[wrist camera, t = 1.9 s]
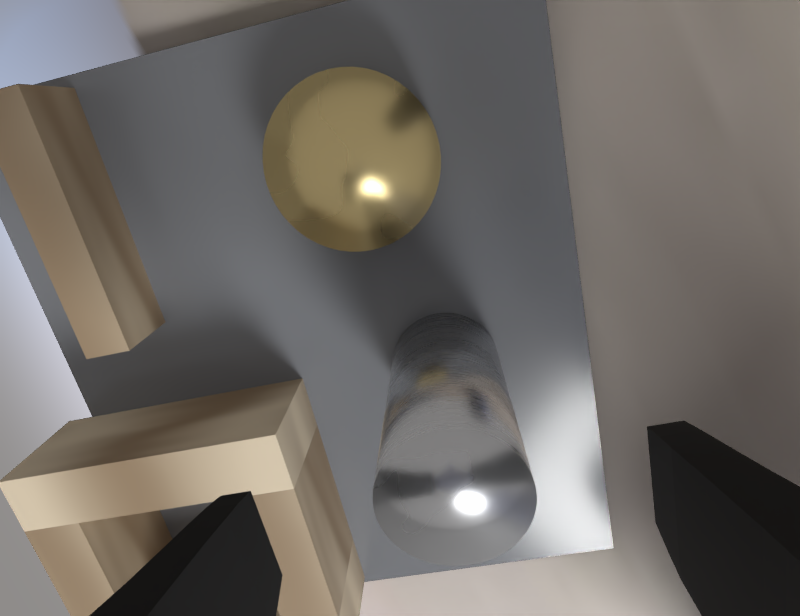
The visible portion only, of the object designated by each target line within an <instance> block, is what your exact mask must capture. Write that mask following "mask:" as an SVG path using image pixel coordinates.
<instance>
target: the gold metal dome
mask: <svg viewBox="0 0 800 616" xmlns="http://www.w3.org/2000/svg"><path fill="white" fill-rule="evenodd" d="M263 170H264V175H265V180H266V184H267V187H268V189H269V192H270V195H271V197H272V199H273V201H274V203H275V205H276V206H277V208H278V209H279V211H280V212H281V214H282V215H283V216H284V218H285V219H286V220H287V221H288V222H289V223H290V224H291V225H292V226H293V227H294V228H295V229H296V230H297V231H298V232H300V233H301V234H303V235H304V236H305V237H307V238H308V239H310V240H312V241H314V242H316V243H318V244H320V245H323V246H325V247H328V248H332V249H336V250H340V251H349V252H362V251H369V250H374V249H378V248H381V247H384V246H386V245H389V244H391V243H393V242H395V241H397V240H398V239H400V238H402V237H403V236H405V235H406V234H407V233H408V232H410V231H411V230H412V229H413V228H414V227H415V226H416V225H417V224H418V223H419V222H420V221H421V219H422V218H423V217H424V215H425V214H426V212H427V211H428V209H429V207H430V205H431V204H432V201H433V199H434V197H435V194H436V191H437V188H438V184H439V179H440V172H441V153H440V145H439V141H438V137H437V133H436V130H435V127H434V125H433V122H432V120H431V118H430V116H429V114H428V113H427V111H426V109H425V108H424V107H423V105H422V104H421V103H420V101H419V100H418V99H417V98H416V97H415V96H414V95H413V94H412V93H411V92H410V91H409V90H408V89H407V88H406V87H404V86H403V85H402V84H401V83H399V82H398V81H396V80H394V79H393V78H391V77H389V76H387V75H385V74H382V73H380V72H378V71H374V70H370V69H367V68H360V67H337V68H331V69H327V70H324V71H321V72H318V73H315V74H313V75H311V76H309V77H307V78H305V79H304V80H302V81H301V82H299V83H298V84H297V85H295V86H294V87H293V88H292V89H291V90H290V91H289V92H288V93H287V94H286V95H285V96H284V97H283V99H282V100H281V101H280V102H279V104H278V105H277V107H276V109H275V110H274V112H273V114H272V116H271V118H270V121H269V123H268V126H267V129H266V133H265V136H264V143H263Z"/></svg>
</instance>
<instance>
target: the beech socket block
mask: <svg viewBox="0 0 800 616" xmlns="http://www.w3.org/2000/svg"><path fill="white" fill-rule="evenodd" d="M0 488H1V490H2V492H3V493H4V495H5V497H6V499H7V501H8V502H9V504H10V506H11V508H12V510H13V512H14V513H15V515H16V517H17V519H18V521H19V522H20V524H21V526H22V528H23V530H24V532H25V533H26V535H27V537H28V539H29V541H30V542H31V544H32V546H33V548H34V550H35V552H36V553H37V555H38V557H39V559H40V561H41V562H42V564H43V566H44V568H45V570H46V572H47V573H48V575H49V577H50V579H51V581H52V582H53V584H54V586H55V588H56V590H57V592H58V593H59V595H60V597H61V599H62V601H63V602H64V604H65V606H66V608H67V610H68V612H69V613H70V615H71V616H89V615H90V614H92V613H93V612H94V611H95V610H96V609H97V608H98V607H99V606H101V605H102V604H103V603H104V602H105V601H106V600H107V599H108V598H110V597H111V596H112V595H113V594H114V593H115V592H116V591H117V590H119V589H120V588H121V587H122V586H123V585H124V584H125V583H126V582H128V581H129V580H130V579H131V578H132V577H133V576H134V575H135V574H136V573H137V572H138V571H139V570H140V569H141V568H142V567H143V566H145V565H146V564H147V563H148V562H149V561H150V560H151V559H152V558H153V557H154V556H155V555H156V554H157V553H158V552H159V551H160V550H161V549H163V548H164V547H165V546H166V545H167V544H168V543H169V542H170V541H171V540H172V537H171V535H170V532H169V530H168V528H167V526H166V523H165V521H164V519H163V517H162V514H161V512H160V510H164V509H170V508H177V507H183V506H189V505H196V504H202V503H208V502H213V501H215V500H216V499H217V498H218V497H220V496H222V495H228V494H235V493H241V492H247V491H251V493H252V496H253V498H254V501H255V503H256V506H257V509H258V511H259V514H260V517H261V519H262V522H263V525H264V527H265V530H266V533H267V535H268V538H269V541H270V543H271V546H272V549H273V551H274V554H275V557H276V559H277V562H278V564H279V567H280V570H281V572H282V575H283V576H282V582H281V589H280V595H279V601H278V608H277V613H276V616H359V614H360V607H361V600H362V593H363V586H364V579H365V576H364V573H363V570H362V567H361V564H360V560H359V557H358V554H357V551H356V548H355V544H354V541H353V538H352V535H351V532H350V528H349V525H348V522H347V519H346V516H345V512H344V509H343V506H342V503H341V500H340V496H339V493H338V490H337V487H336V484H335V480H334V477H333V474H332V471H331V468H330V464H329V461H328V458H327V455H326V452H325V449H324V445H323V442H322V439H321V436H320V433H319V429H318V426H317V423H316V420H315V417H314V413H313V410H312V407H311V404H310V401H309V397H308V394H307V391H306V388H305V385H304V381H303V378H302V379H296V380H291V381H285V382H280V383H275V384H269V385H264V386H258V387H253V388H247V389H242V390H237V391H231V392H226V393H220V394H215V395H209V396H204V397H199V398H193V399H188V400H182V401H177V402H171V403H166V404H160V405H155V406H150V407H144V408H139V409H133V410H128V411H122V412H117V413H112V414H106V415H101V416H95V417H90V418H84V419H80V420H74V421H69V422H68V423H67V424H65V425H64V426H63V427H62V428H61V429H60V430H58V431H57V432H56V433H55V434H54V435H53V436H52V437H50V438H49V439H48V440H47V441H46V442H45V443H43V444H42V445H41V446H40V447H39V448H38V449H36V450H35V451H34V452H33V453H32V454H30V455H29V456H28V457H27V458H26V459H25V460H23V461H22V462H21V463H20V464H19V465H18V466H16V467H15V468H14V469H13V470H12V471H11V472H10V473H8V474H7V475H6V476H5V477H4V478H3V479H1V480H0Z"/></svg>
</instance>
